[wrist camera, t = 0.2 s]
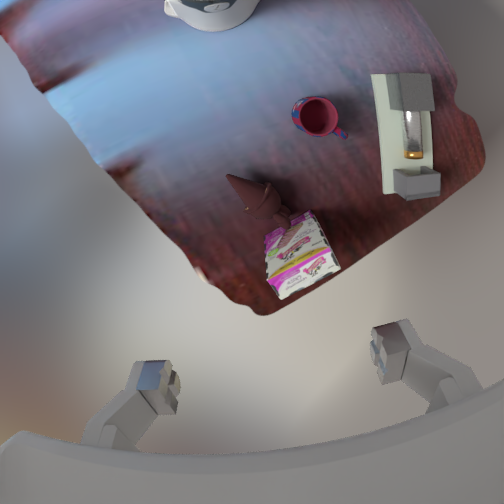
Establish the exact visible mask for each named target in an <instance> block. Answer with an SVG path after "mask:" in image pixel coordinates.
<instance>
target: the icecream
mask: <svg viewBox="0 0 504 504" xmlns="http://www.w3.org/2000/svg"><path fill="white" fill-rule="evenodd" d="M226 177H227V179H228V180H229V182H230V183H231V185H232V186H233V188H234V189H235V190H236V192H237V193H238V195H239V196H240V197H241V199H242V200H243V202H244V203H245V205H246V207H245V209H244V210H243V212H245V213H247V214H251V215H252V216H254V217H255V218H256V219H270V218H272V217H273V218H274V219H275V221H276V222H278V226H279V227H282V228H283V229H285V230H289V229H290V228H291V222H290V219H289V218H288V217H289V216H290V215H291V212H290V210H289V209H288V208H287V207H286V206H284V205H282V204H281V198H280V196H279V194H278V192H277V191H276V190H275V188H274V187H273V186H271V184H272V183H269V182H265V183H264V184H260V183H257V182H253V181H250V180H247V179H243V178H240V177H237V176H234V175H230V174H227V175H226Z"/></svg>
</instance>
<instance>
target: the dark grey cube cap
mask: <svg viewBox="0 0 504 504" xmlns="http://www.w3.org/2000/svg"><path fill="white" fill-rule="evenodd" d="M385 77H386V83H387V89H388V96H389V104H390V109H391V110H398V111H435V107H434V98H433V89H432V82H431V75H430V74H422V73H392V74H385Z"/></svg>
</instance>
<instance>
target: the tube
mask: <svg viewBox="0 0 504 504" xmlns="http://www.w3.org/2000/svg"><path fill="white" fill-rule="evenodd" d="M400 113H401V123H402V134H403V148H404V158H407V159H414V160H417V159H423V138H422V124H421V113H420V111H400Z"/></svg>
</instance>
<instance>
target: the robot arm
mask: <svg viewBox="0 0 504 504" xmlns="http://www.w3.org/2000/svg"><path fill="white" fill-rule="evenodd" d="M259 1H261V0H165V13H166V14H167V15H169V16H172V17H176V18H180V19H182V20H183V21H185V22H186V23H187V24H189V25H190V26H192V27H194V28H196V29H199V30H203V31H211V32H216V31H224V30H228V29H231V28H233V27H236V26H238V25H240V24H241V23H243V22H244V21H245V20H246V19H248V18H249V16H250V15H251V14H252V13H253V11H254V9H255V7H256V5H257V4H258V2H259ZM371 335H372V338H373V340H372V341H371V342H370V352H371V357H372V361H373V363H374V365H376V366H377V367H378V369H377V374H378V376H379V379H380V381H381V384H382V385H384V384H388V383H391V382H395V381H399V380H401V381H402V382H403V383H405V384H406V385H407V386H409V387H410V388H411V389H412V390H414V391H415V392H416V393H418V394H419V395H420V396H422V397H423V398H424V399H425V400H427V401H428V402H429V403H430V405H429V407H428V409H427V411H426V413H425V415H422V416H419V417H416V418H413V419H410V420H407V421H404V422H401V423H398V424H395V425H392V426H388V427H385V428H381V429H378V430H375V431H371V432H367V433H363V434H359V435H355V436H351V437H347V438H343V439H338V440H333V441H328V442H322V443H317V444H312V445H305V446H299V447H293V448H285V449H277V450H270V451H259V452H247V453H232V454H207V455H206V454H202V455H201V454H200V455H199V454H196V455H193V454H160V453H145V452H142V451H141V450H140V449H139V448H138V447H137V446H136V443H137V442H138V441H139V440H140V438H141V437H142V436H143V434H144V433H145V432H146V431H147V429H148V428H149V427H150V426H151V424H152V423H153V422H154V420H155V419H156V418H157V416H158V415H174V414H176V411H177V405H178V401H177V399H176V397H177V396H178V395H179V393H180V388H181V387H180V379H179V376H178V375H177V373H176V372H175V371H173V370H172V364H171V362H170V361H169V360H154V361H136V362H135V363H134V364H133V366H132V369H131V372H130V375H129V378H128V381H127V384H126V388H125V390H122V391H120V392H119V393H118V394H117V395H116V396H115V397H114V398H113V399H112V400H111V401H110V402H108V403H107V404H106V405H105V406H104V407H103V408H102V409H101V410H100V411H99V412H97V413H96V414H95V415H94V416H93V417H92V418H91V419H90V420H89V421H88V422H87V424H86V428H85V430H84V433H83V436H82V439H81V443H80V444H78V443H73V442H68V441H63V440H59V439H55V438H51V437H47V436H43V435H39V434H35V433H32V432H28V431H20V432H18V433H17V434H15V435H14V436H12V437H11V438H9V439H8V440H7V441H6V442H4V443H3V444H2V445H1V446H0V504H504V379H502V380H501V381H499V382H497V383H495V384H493V385H491V386H489V387H487V388H485V389H483V388H482V386H481V384H480V382H479V381H478V379H477V377H476V375H475V374H474V372H473V370H472V369H471V367H469V366H467V365H465V364H463V363H461V362H459V361H457V360H456V359H454V358H452V357H450V356H448V355H446V354H444V353H442V352H440V351H438V350H437V349H435V348H433V347H431V346H429V345H424V344H423V343H422V341H421V339H420V338H419V336H418V334H417V332H416V331H415V329H414V328H413V326H412V324H411V322H410V321H409V320H408V319H403V320H399V321H396V322H392V323H388V324H385V325H381V326H377V327H373V328H372V331H371Z"/></svg>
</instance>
